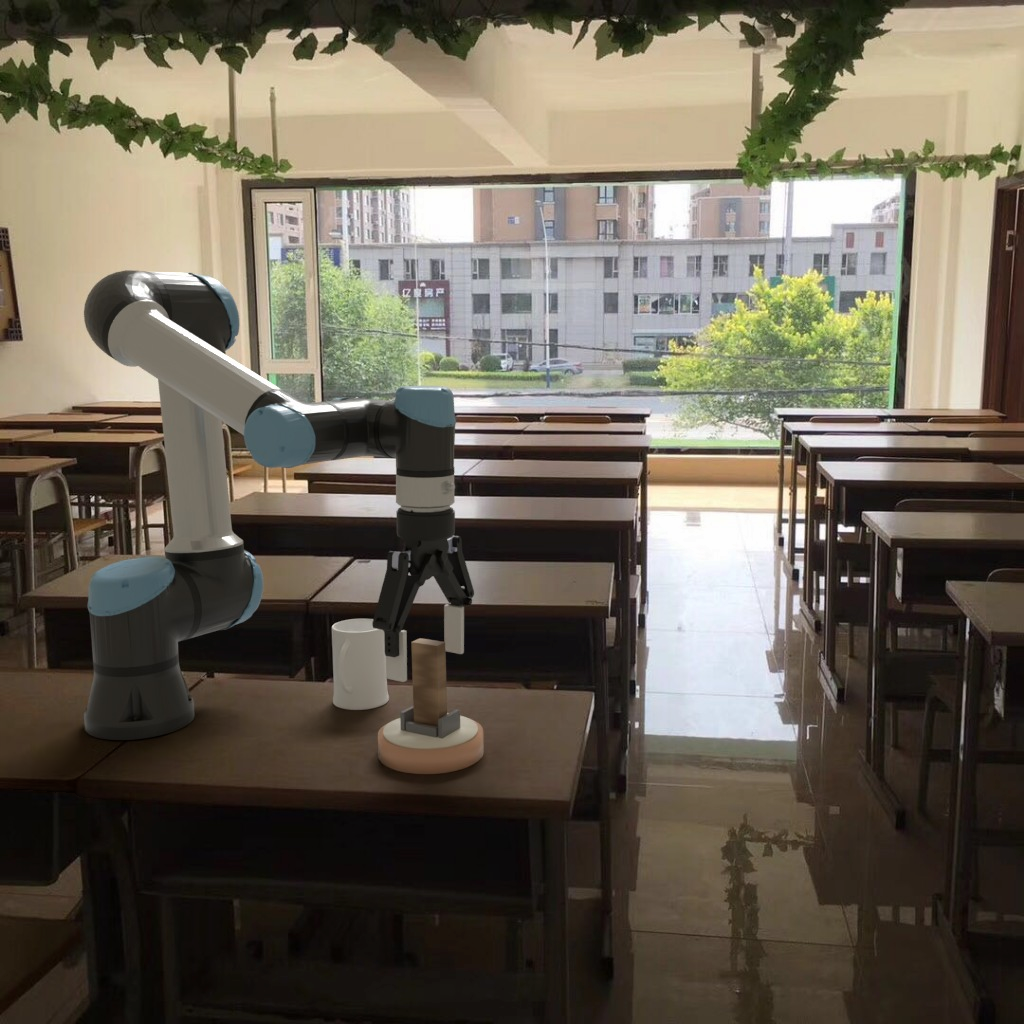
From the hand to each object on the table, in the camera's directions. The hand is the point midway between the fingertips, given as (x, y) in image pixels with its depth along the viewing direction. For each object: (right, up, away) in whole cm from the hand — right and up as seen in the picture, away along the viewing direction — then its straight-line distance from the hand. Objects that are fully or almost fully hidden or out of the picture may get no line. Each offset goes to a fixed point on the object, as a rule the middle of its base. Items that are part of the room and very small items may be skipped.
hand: (426, 665), depth 142 cm
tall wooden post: (+1, -9, +1) cm, 9 cm away
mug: (-12, -9, +21) cm, 26 cm away
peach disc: (+1, -12, +2) cm, 12 cm away
